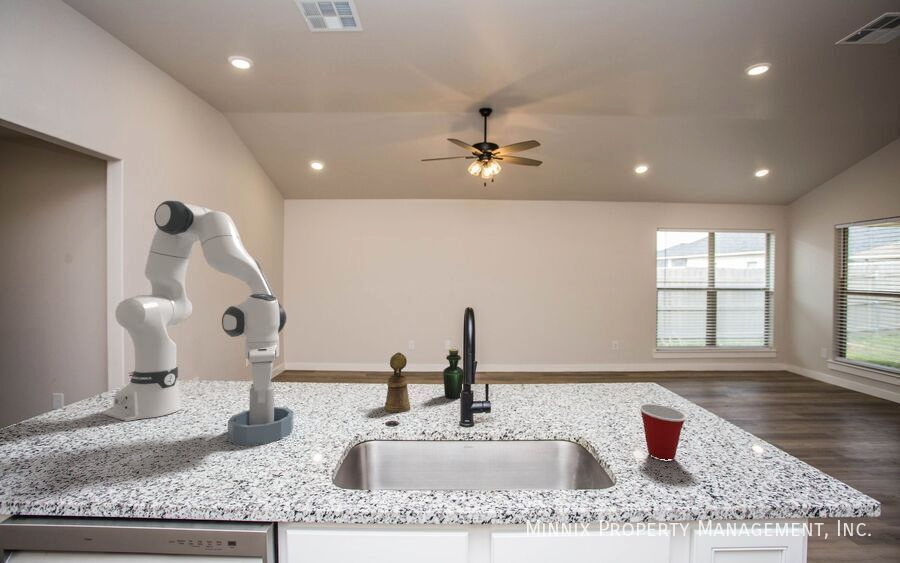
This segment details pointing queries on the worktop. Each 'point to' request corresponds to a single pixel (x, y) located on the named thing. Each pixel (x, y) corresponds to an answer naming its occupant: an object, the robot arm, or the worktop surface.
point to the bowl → (260, 428)
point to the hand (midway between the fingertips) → (261, 398)
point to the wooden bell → (397, 386)
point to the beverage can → (261, 407)
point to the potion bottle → (453, 376)
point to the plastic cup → (662, 429)
